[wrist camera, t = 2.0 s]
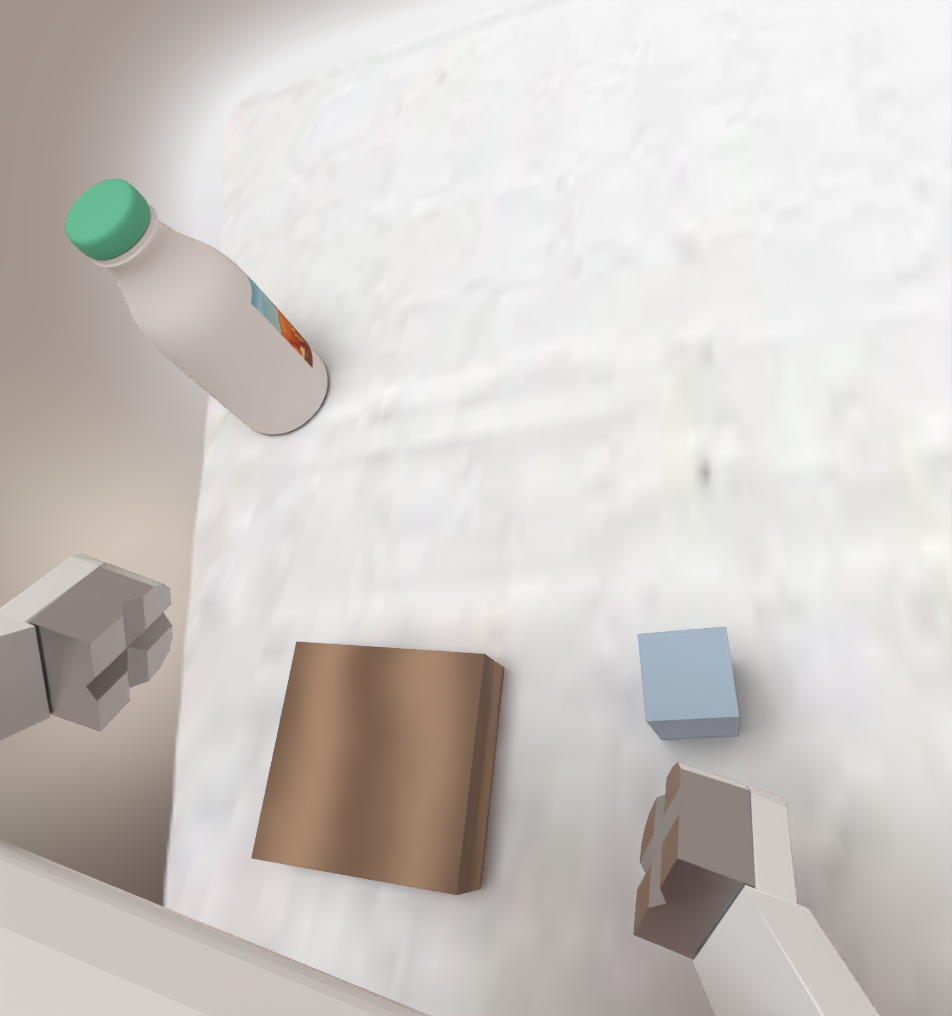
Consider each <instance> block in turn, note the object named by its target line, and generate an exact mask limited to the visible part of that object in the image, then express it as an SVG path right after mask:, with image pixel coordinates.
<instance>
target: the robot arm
mask: <svg viewBox="0 0 952 1016" xmlns="http://www.w3.org/2000/svg"><path fill="white" fill-rule="evenodd" d="M170 605H171V595H170V588H169V587H167V586H166V585H164V584H162V583H160V582H157V581H154V580H152V579H149V578H146V577H144V576H141V575H138V574H136V573H133V572H131V571H128V570H125V569H122V568H120V567H117V566H115V565H112V564H108V563H105V562H103V561H100V560H97V559H95V558H92V557H89V556H87V555H84V554H79V555H75V556H71V557H69V558H68V559H67V560H65V561H64V562H62V563H61V564H60V565H58V566H57V567H56V568H54V569H53V570H52V571H51V572H49V573H47V574H46V575H45V576H43V577H42V578H41V579H39V580H38V581H37V582H35V583H34V584H33V585H31V586H30V587H28V588H27V589H26V590H24V591H23V592H22V593H20V594H19V595H17V596H16V597H15V598H13V599H12V600H11V601H9V602H8V603H7V604H5V605H4V606H2V607H1V608H0V740H2V739H4V738H7V737H9V736H11V735H13V734H15V733H17V732H20V731H22V730H24V729H26V728H28V727H30V726H32V725H35V724H37V723H39V722H41V721H43V720H45V719H47V718H50V714H52V715H54V716H57V717H60V718H63V719H66V720H69V721H72V722H75V723H77V724H80V725H83V726H86V727H89V728H92V729H95V730H98V731H102V730H103V729H104V728H105V727H106V726H107V724H108V723H109V722H110V721H111V720H112V719H113V718H114V717H115V716H116V715H117V714H118V713H119V712H120V711H121V710H122V709H123V708H124V707H125V705H126V704H127V703H128V702H129V701H130V688H131V687H133V686H136V685H139V684H142V683H144V682H147V681H149V680H150V679H151V678H152V677H153V675H154V674H155V673H156V672H157V671H158V670H159V669H160V667H161V666H162V663H163V662H164V660H165V658H166V656H167V654H168V652H169V649H170V645H171V641H172V625H171V623H170V622H169V620H168V619H167V617H166V616H165V614H164V613H163V612H164V611H165V610H166V609H167V608H168V607H169V606H170ZM640 863H641V865H642V867H643V869H644V871H645V873H646V875H645V876H644V878H643V880H642V882H641V884H640V886H639V888H638V890H637V899H636V911H635V924H634V935H636V936H638V937H641V938H643V939H645V940H648V941H650V942H653V943H655V944H658V945H660V946H662V947H665V948H667V949H670V950H672V951H675V952H677V953H680V954H682V955H684V956H687V957H689V958H692V959H694V960H693V965H694V967H695V970H696V972H697V975H698V977H699V979H700V982H701V984H702V987H703V989H704V991H705V994H706V996H707V999H708V1001H709V1004H710V1006H711V1008H712V1011H713V1013H714V1016H880V1015H879V1014H878V1012H877V1011H876V1009H875V1008H874V1006H873V1005H872V1003H871V1002H870V1000H869V999H868V997H867V996H866V994H865V993H864V991H863V990H862V988H861V987H860V985H859V984H858V982H857V981H856V979H855V978H854V976H853V975H852V973H851V972H850V970H849V969H848V967H847V966H846V964H845V963H844V961H843V960H842V958H841V957H840V955H839V953H838V952H837V950H836V949H835V947H834V946H833V944H832V943H831V941H830V940H829V938H828V937H827V935H826V934H825V932H824V931H823V929H822V928H821V926H820V925H819V923H818V922H817V920H816V919H815V917H814V916H813V914H812V913H811V911H810V910H809V909H808V908H806V907H803V906H801V905H798V903H797V894H796V885H795V876H794V867H793V859H792V850H791V841H790V832H789V823H788V814H787V806H786V803H785V801H784V800H783V798H782V797H779V796H776V795H773V794H770V793H767V792H764V791H761V790H758V789H755V788H752V787H749V786H745V785H744V784H741V783H738V782H735V781H732V780H729V779H726V778H723V777H720V776H717V775H714V774H711V773H708V772H705V771H702V770H699V769H696V768H693V767H690V766H687V765H684V764H681V763H678V762H677V763H676V764H675V765H674V766H673V767H672V769H671V771H670V773H669V775H668V777H667V781H666V794H665V795H663V796H660V797H658V798H656V800H655V803H654V805H653V807H652V809H651V811H650V814H649V817H648V820H647V823H646V826H645V830H644V834H643V840H642V846H641V855H640ZM0 1016H429V1015H426V1014H424V1013H421V1012H419V1011H417V1010H414V1009H412V1008H409V1007H407V1006H404V1005H402V1004H400V1003H397V1002H395V1001H392V1000H390V999H387V998H385V997H382V996H380V995H378V994H375V993H373V992H370V991H368V990H365V989H363V988H361V987H358V986H356V985H353V984H351V983H348V982H346V981H343V980H341V979H339V978H336V977H334V976H331V975H329V974H326V973H324V972H322V971H319V970H317V969H314V968H312V967H309V966H307V965H304V964H302V963H300V962H297V961H295V960H292V959H290V958H287V957H285V956H282V955H280V954H278V953H275V952H273V951H270V950H268V949H265V948H263V947H260V946H258V945H256V944H253V943H251V942H248V941H246V940H243V939H241V938H238V937H236V936H233V935H231V934H229V933H226V932H224V931H221V930H219V929H216V928H214V927H211V926H209V925H207V924H204V923H202V922H199V921H197V920H194V919H192V918H189V917H187V916H185V915H182V914H180V913H177V912H175V911H172V910H170V909H167V908H165V907H162V906H160V905H157V904H155V903H153V902H150V901H148V900H145V899H143V898H140V897H138V896H136V895H133V894H130V893H128V892H126V891H123V890H121V889H118V888H116V887H114V886H111V885H109V884H106V883H104V882H101V881H99V880H96V879H94V878H92V877H89V876H87V875H84V874H82V873H79V872H77V871H75V870H72V869H69V868H67V867H65V866H62V865H60V864H57V863H55V862H52V861H50V860H48V859H45V858H43V857H40V856H38V855H35V854H33V853H30V852H28V851H26V850H23V849H21V848H18V847H16V846H13V845H11V844H8V843H6V842H4V841H1V840H0Z"/></svg>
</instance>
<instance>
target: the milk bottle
mask: <svg viewBox="0 0 952 1016" xmlns="http://www.w3.org/2000/svg"><path fill="white" fill-rule="evenodd" d="M65 231H66V234H67V236H68V238H69V239H70V241H71V242H72V243H73V244H74V245H75V246H76V247H77V248H78V249H79V250H81V251H82V252H83V253H84V254H85V255H86V256H88V257H90V258H91V259H92V261H93V262H94V263H95V264H97V265H98V266H101V267H106V268H107V269H108V270H109V271H110V273H111V274H112V275H113V277H114V278H115V280H116V282H117V283H118V285H119V287H120V289H121V291H122V293H123V295H124V297H125V300H126V303H127V305H128V308H129V310H130V312H131V314H132V317H133V318H134V320H135V322H136V323H137V325H138V327H139V328H140V330H141V331H142V332H143V334H144V335H145V336H146V338H147V339H148V340H149V341H150V342H151V343H152V344H153V345H154V346H155V347H156V348H157V349H158V350H159V351H160V352H161V353H162V354H163V355H164V356H165V357H167V358H168V359H169V360H170V361H171V362H172V363H173V364H174V365H176V366H177V367H178V368H179V369H180V370H181V371H183V372H184V373H185V374H186V375H188V377H190V378H191V379H192V380H193V381H194V382H196V383H197V384H198V385H199V386H200V387H202V388H203V389H204V390H205V391H207V393H209V394H210V395H211V396H212V397H213V398H215V399H216V400H217V401H218V402H219V403H221V404H222V405H223V406H224V407H225V408H227V409H228V410H229V411H230V412H231V413H233V414H234V415H235V416H236V417H238V418H239V419H240V420H241V421H242V422H244V423H245V424H246V425H248V426H249V427H250V428H252V429H253V430H255V431H257V432H260V433H264V434H282V433H286V432H290V431H292V430H294V429H297V428H298V427H300V426H301V425H303V424H304V423H306V422H307V421H308V420H309V419H310V418H311V417H312V416H313V415H314V414H315V413H316V411H317V410H318V409H319V407H320V405H321V404H322V402H323V400H324V397H325V395H326V390H327V386H328V384H327V381H328V377H327V371H326V368H325V365H324V363H323V361H322V360H321V358H320V357H319V356H318V355H317V353H316V352H315V351H314V350H313V349H312V347H311V346H310V345H309V344H308V343H307V342H306V341H305V339H304V338H303V337H302V336H301V335H300V334H299V333H298V331H297V330H296V329H295V328H294V327H293V326H292V325H291V323H290V322H289V321H288V320H287V319H286V318H285V317H284V315H283V314H282V313H281V312H280V311H279V310H278V309H277V307H276V306H275V305H274V304H273V303H272V302H271V301H270V300H269V299H268V297H267V296H266V295H265V294H264V293H263V292H262V291H261V290H260V289H259V287H258V286H257V285H256V284H255V283H254V282H253V281H252V280H251V279H250V278H249V277H248V276H247V275H246V274H245V273H244V272H243V270H242V269H241V268H240V267H239V266H238V265H237V264H235V263H234V262H233V261H232V260H231V259H229V258H228V257H227V256H226V255H224V254H223V253H221V252H220V251H218V250H217V249H215V248H213V247H211V246H210V245H207V244H205V243H203V242H201V241H198V240H196V239H193V238H190V237H188V236H185V235H183V234H181V233H179V232H177V231H175V230H173V229H171V228H170V227H168V226H167V225H165V224H164V223H162V222H160V220H158V218H157V214H156V211H155V209H154V208H153V207H152V206H151V205H149V204H148V203H147V201H146V200H145V199H144V197H143V196H142V195H141V194H140V193H139V192H138V191H137V190H136V189H135V188H134V187H133V186H132V185H130V184H129V183H127V182H126V181H124V180H121V179H110V180H106V181H103V182H100V183H98V184H96V185H94V186H92V187H91V188H89V189H88V190H87V191H85V192H84V193H83V194H82V195H81V196H80V197H79V198H78V199H77V200H76V202H75V203H74V204H73V206H72V207H71V209H70V211H69V213H68V215H67V218H66V224H65Z"/></svg>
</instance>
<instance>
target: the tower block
mask: <svg viewBox="0 0 952 1016" xmlns="http://www.w3.org/2000/svg"><path fill="white" fill-rule="evenodd" d="M638 642H639V652H640V662H641V672H642V682H643V692H644V702H645V713H646V721H647V723H648V724H649V725H650V726H651V728H652V729H653V730H654V731H655V732H656V734H657V735H658V736H659V737H660V739H682V738H704V737H726V736H738V730H739V711H738V704H737V697H736V690H735V684H734V677H733V670H732V663H731V657H730V650H729V643H728V636H727V629H726V627H716V628H704V629H692V630H680V631H668V632H656V633H644V634H638Z"/></svg>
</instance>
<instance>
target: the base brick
mask: <svg viewBox="0 0 952 1016" xmlns="http://www.w3.org/2000/svg"><path fill="white" fill-rule="evenodd" d="M503 673H504V667H502V666H501V665H500V664H498V663H497V662H495V661H494V660H492V659H491V658H490V657H488V656H487V655H485V654H476V653H461V652H446V651H430V650H415V649H400V648H385V647H370V646H355V645H340V644H324V643H309V642H296V647H295V651H294V656H293V661H292V666H291V671H290V675H289V680H288V685H287V690H286V695H285V699H284V704H283V709H282V714H281V719H280V723H279V728H278V733H277V738H276V743H275V747H274V752H273V757H272V762H271V767H270V771H269V776H268V781H267V786H266V791H265V795H264V800H263V805H262V810H261V815H260V819H259V824H258V829H257V834H256V839H255V843H254V848H253V853H252V859H258V860H263V861H269V862H275V863H280V864H286V865H292V866H297V867H303V868H308V869H314V870H320V871H325V872H331V873H336V874H342V875H348V876H353V877H359V878H364V879H370V880H376V881H381V882H387V883H393V884H398V885H404V886H409V887H415V888H421V889H426V890H432V891H437V892H443V893H449V894H454V895H458V894H462V893H466V892H470V891H474V890H478V889H480V887H481V878H482V869H483V859H484V850H485V841H486V831H487V822H488V813H489V803H490V794H491V785H492V775H493V766H494V757H495V747H496V738H497V729H498V719H499V710H500V701H501V691H502V682H503Z"/></svg>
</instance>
